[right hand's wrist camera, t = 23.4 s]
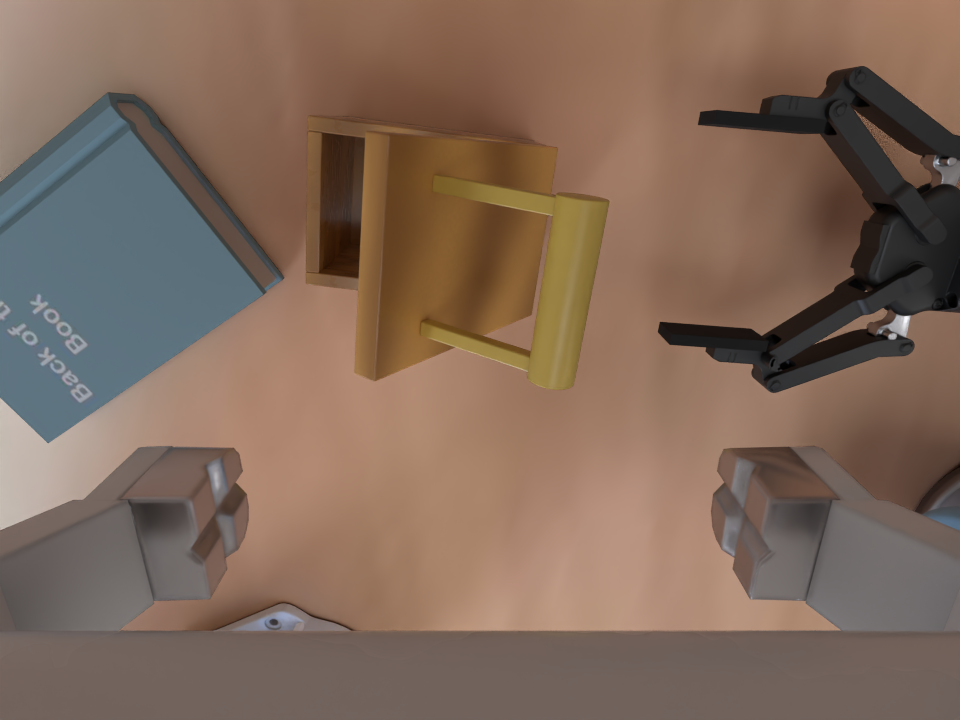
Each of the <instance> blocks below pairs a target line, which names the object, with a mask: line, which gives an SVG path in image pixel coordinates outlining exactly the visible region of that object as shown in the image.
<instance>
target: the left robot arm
mask: <svg viewBox="0 0 960 720" xmlns="http://www.w3.org/2000/svg"><path fill="white" fill-rule="evenodd" d="M853 109H854V110H856V111H857V112H858V113H860V114H861V115H862V116H863V117H865V118H866V119H867V120H869V121H870V122H871V123H873V124H874V125H875V126H877V127H878V128H879V129H881V130H882V131H883V132H885V133H886V134H887V135H889V136H890V137H891V138H893V139H894V140H895V141H896V142H898V143H899V144H900V145H902V146H903V147H904V148H906V149H907V150H909V151H911V152H913V153H915V154H918V155H921V156H922V157H921V159H920V163H921V164H922V165H923V166H924V168H925V169H927V170H928V171H930V173H931V175H932V180H931V183H928V184H925V185H922V186H921V187H919V188H917V189H916V188H915V187H914V186H913V185H911V184H910V183H908V182H906V181H905V180H904V179H903V178H902V176H901V175H900V173H899V172H898V171H897V169H896V168H895V166H894V165H893V164H892V162H891V161H890V160H889V158H888V157H887V155H886V154H885V153H884V151H883V150H882V148H881V147H880V146H879V144H878V143H877V142H876V140H875V139H874V137H873V136H872V135H871V133H870V132H869V130H868V129H867V128H866V126H865V125H864V124H863V122H862V121H861V119H860V118H859V117H858V115H857V114H856V112H855V111H854V110H853ZM698 125H705V126H716V127H728V128H739V129H750V130H762V131H773V132H785V133H796V134H820V135H821V136H822V137H823V139H824V140H825V141H826V143H827V144H828V145H829V147H830V148H831V149H832V151H833V152H834V153H835V155H836V156H837V157H838V159H839V160H840V161H841V163H842V164H843V165H844V167H845V168H846V169H847V171H848V172H849V173H850V175H851V176H852V177H853V179H854V180H855V181H856V183H857V184H858V185H859V187H860V188H861V189H862V191H863V194H862V195H863V197H864V199H865V200H866V201H867V203H868V204H869V205H870V207H871V208H872V209H873V211H874V212H875V213H874V214H873V215H872V216H871V217H870V219H869V220H868V221H864V223H863V226H862V230H861V238H860V246H859V247H858V249H857V251H856V253H855V254H854V256H853V260H852V263H851V266H850V267H851V268H854V274H855V275H853V276H852V277H850V278H848V279H847V280H845V281H843V282H842V283H840V284H839V285H837V286H836V287H835V288H834V292H832V293H831V294H829V295H828V296H826V297H824V298H823V299H821V300H819V301H818V302H816V303H815V304H813V305H811V306H810V307H808V308H806V309H805V310H803V311H802V312H800V313H798V314H797V315H795V316H793V317H792V318H790V319H789V320H787V321H785V322H784V323H782V324H780V325H779V326H777V327H776V328H774V329H772V330H771V331H769V332H767V333H766V334H764V335H763V336H761V335H759V334H758V333H756V332H755V331H754V330H752V329H746V328H733V327H720V326H707V325H694V324H681V323H667V322H660V324H659V329H658V333H659V334H660V335H661V336H662V337H663V338H664V339H665V340H666V341H667V342H668V343H669V344H670V345H681V346H695V347H706V352H707V353H708V354H709V355H710V356H711V357H712V358H713V359H715V360H717V361H719V362H731V363H733V362H734V363H745V364H753V369H752V376H753V378H754V379H756V380H757V381H758V382H759V383H760V384H761V385H762V386H764V387H765V388H766V389H767V390H768V391H770V392H772V393H776V392H779V391H782V390H785V389H788V388H791V387H794V386H797V385H799V384H802V383H805V382H808V381H811V380H814V379H817V378H820V377H822V376H825V375H828V374H831V373H834V372H837V371H840V370H842V369H845V368H848V367H851V366H854V365H857V364H860V363H862V362H865V361H868V360H871V359H874V358H877V357H890V356H906V355H908V354H910V353H911V352H912V351H913V349H914V342H913V341H912V340H910V339H908V338H906V335H907V331H908V326H909V322H910V318H911V315H914V314H917V313H919V312H922V311H929V310H930V311H944V312H957V313H960V190H959V189H958V188H957V187H956V185H957V183H958V180H959V178H960V136H958V135H953V134H952V133H950V132H949V131H948V130H947V129H945V128H944V127H943V126H941V125H940V124H939V123H938V122H936V121H935V120H934V119H932V118H931V117H930V116H929V115H927V114H926V113H925V112H924V111H922V110H921V109H920V108H918V107H917V106H916V105H915V104H913V103H912V102H911V101H909V100H908V99H907V98H906V97H904V96H903V95H902V94H900V93H899V92H898V91H897V90H895V89H894V88H893V87H891V86H890V85H889V84H888V83H886V82H885V81H884V80H882V79H881V78H880V77H879V76H877V75H876V74H875V73H873V72H872V71H871V70H870V69H868V68H867V67H865V66H859V67H854V68H848V69H843V70H837V71H834V72H832V73H831V74H830V75H829V76H828V78H827V81H826V88H825V90H824V91H823V93H822V94H821V95H820V96H819V97H817V98H811V97H800V96H789V95H778V96H771V97H768V98H765V99H762V104H761V108H760V113H759V114H755V113H744V112H733V111H722V110H713V111H704V112H700V117H699V122H698ZM866 290H867V291H868V292H864V291H866ZM881 308H884V309H886V310H888V312H887V315H886V316H885V317H884V318H883V319H882V320H879V321H876V322H874V323H873V322H870V323H868V324H867V329H860V330H855V331H851V332H848V333H845V334H842V335H839V336H837V337H834V338H831V339H828V340H825V341H823V342H820V343H817V344H815V343H816V342H818V341H820V340H821V339H823V338H825V337H826V336H828V335H830V334H831V333H833V332H835V331H836V330H838V329H840V328H841V327H843V326H845V325H846V324H848V323H850V322H851V321H853V320H855V319H856V318H858V317H860V316H862V315H868V314H872V313H875V312H876V311H878V310H880V309H881ZM813 344H814V345H813ZM915 512H917V513H919V514H921V515H924V516H926V517H928V518H931V519H933V520H936V521H938V522H940V523H943V524H945V525H947V526H950V527H952V528H955V529H957V530H959V531H960V467H959V468H957V469H955V470H954V471H952V472H951V473H949V474H948V475H946V476H945V477H944V478H943V479H941V480H940V481H939V482H938V483H937V484H936V485H935V486H934V487H933V488H932V489H931V490H930V491H929V492H928V493H927V494H926V496H925V497H924V498H923V500H922V501H921V503H920V504H919V506H918V508H917V509H916V511H915Z"/></svg>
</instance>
